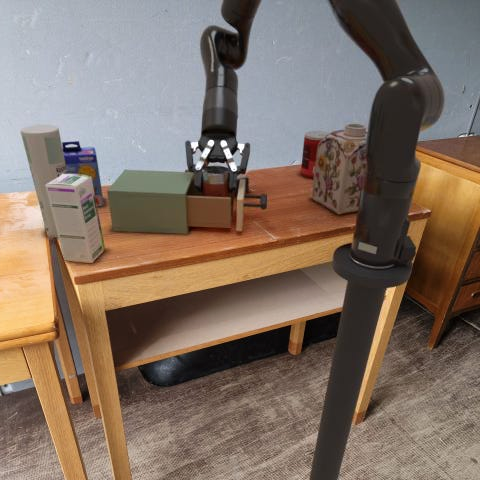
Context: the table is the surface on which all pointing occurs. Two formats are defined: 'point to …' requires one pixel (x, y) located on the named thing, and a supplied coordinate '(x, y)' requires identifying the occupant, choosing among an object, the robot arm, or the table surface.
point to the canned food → (311, 152)
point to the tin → (215, 181)
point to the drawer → (218, 207)
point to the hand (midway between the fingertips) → (215, 190)
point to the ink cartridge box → (84, 165)
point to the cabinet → (150, 201)
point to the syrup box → (76, 217)
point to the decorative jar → (341, 169)
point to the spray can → (44, 165)
